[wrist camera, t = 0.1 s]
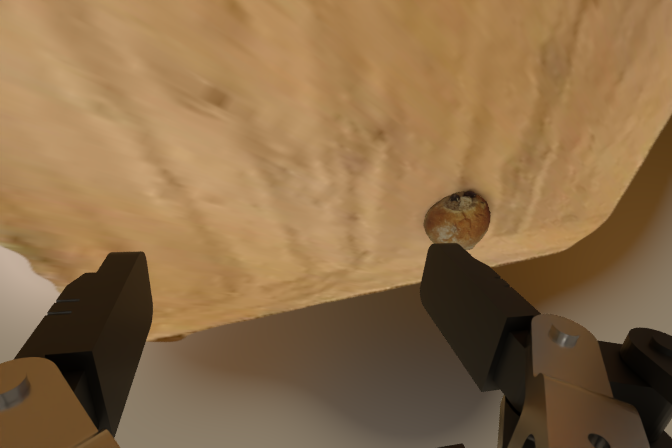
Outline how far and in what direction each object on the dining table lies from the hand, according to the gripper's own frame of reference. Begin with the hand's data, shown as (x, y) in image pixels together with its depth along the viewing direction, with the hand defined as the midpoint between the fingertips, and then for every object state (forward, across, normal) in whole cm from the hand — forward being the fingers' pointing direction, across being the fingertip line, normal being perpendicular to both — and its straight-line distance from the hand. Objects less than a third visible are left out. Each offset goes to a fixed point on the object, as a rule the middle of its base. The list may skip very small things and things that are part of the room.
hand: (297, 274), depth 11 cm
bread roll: (+40, -30, +16) cm, 53 cm away
